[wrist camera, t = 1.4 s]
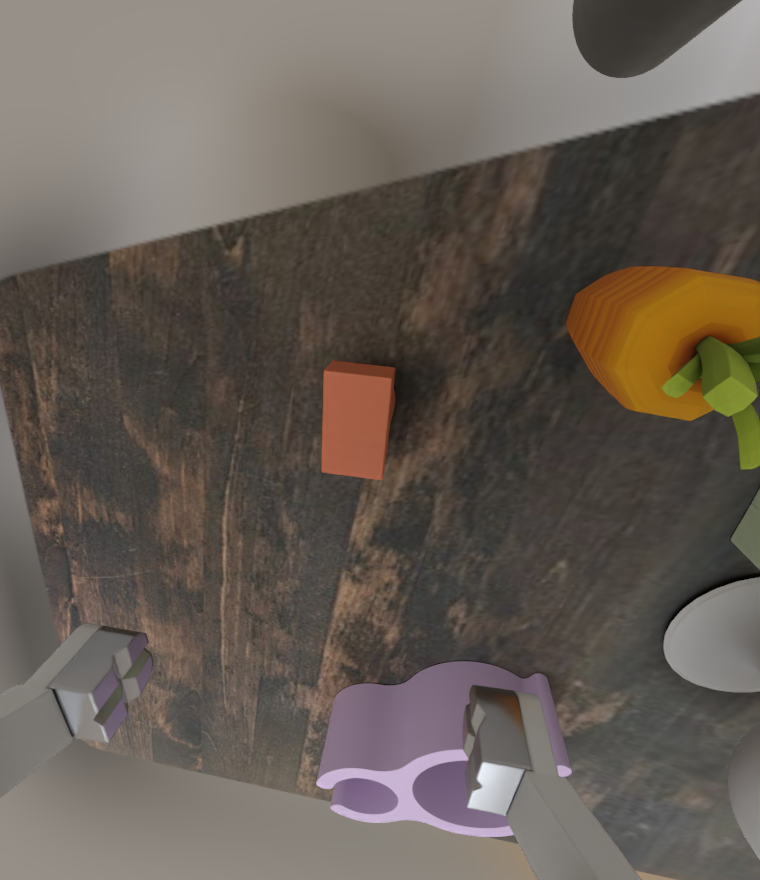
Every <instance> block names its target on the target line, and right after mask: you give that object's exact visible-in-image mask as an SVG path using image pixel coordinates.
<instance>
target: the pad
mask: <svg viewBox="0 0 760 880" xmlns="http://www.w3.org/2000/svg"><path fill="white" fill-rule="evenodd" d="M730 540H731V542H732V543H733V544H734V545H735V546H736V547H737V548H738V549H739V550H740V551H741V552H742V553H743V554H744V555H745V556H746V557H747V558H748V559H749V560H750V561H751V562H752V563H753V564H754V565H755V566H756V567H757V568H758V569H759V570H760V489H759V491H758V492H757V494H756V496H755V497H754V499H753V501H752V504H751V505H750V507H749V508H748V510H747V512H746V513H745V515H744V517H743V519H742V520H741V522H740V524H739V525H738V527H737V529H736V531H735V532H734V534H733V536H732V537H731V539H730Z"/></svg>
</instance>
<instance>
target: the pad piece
mask: <svg viewBox="0 0 760 880" xmlns="http://www.w3.org/2000/svg"><path fill="white" fill-rule="evenodd" d="M394 379H395V368H394V367H386V366H377V365H368V364H359V363H350V362H342V361H332V362H331V363H330V364H329V365H328V366H327V368H326V369H325V370H324V379H323V424H322V470H321V471H322V472H323V473H331V474H339V475H346V476H354V477H361V478H369V479H376V480H382V479H383V474H384V470H385V465H386V457H387V448H388V438H389V428H390V423H391V419H392V415H393V411H394V406H395V399H396V397H395V392H394Z"/></svg>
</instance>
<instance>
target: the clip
mask: <svg viewBox="0 0 760 880" xmlns="http://www.w3.org/2000/svg"><path fill="white" fill-rule="evenodd" d="M472 685H478V686H485V687H492V688H500V689H507V690H514V691H515V692H523V693H530V694H536V695H537V696H538V697H539V699H540V700H541V704H542V708H543V712H544V716H545V720H546V724H547V729H548V733H549V737H550V741H551V745H552V749H553V753H554V757H555V761H556V765H557V770H558V774H559V776H560V777H565V778H567V780H568V775H570V774H571V773H572V771H571V767H570V763H569V760H568V756H567V752H566V748H565V744H564V740H563V737H562V733H561V729H560V725H559V721H558V717H557V714H556V710H555V706H554V702H553V698H552V694H551V691H550V687H549V683H548V679H547V677H546V676H545V675H543V674H541V673H536V674H533V675H532V676H530V677H528V678H525V679H523V678H519V677H518V676H516V675H515V674H513V673H511V672H509V671H507V670H505V669H502V668H500V667H497V666H494V665H490V664H485V663H480V662H470V661H456V662H447V663H442V664H437V665H434V666H431V667H428V668H426V669H424V670H422V671H420V672H419V673H417V674H416V675H414V676H413V677H412V678H411V679H410V680H408V681H407V682H405V683H402V684H399V685H380V684H372V683H363V684H356V685H352V686H349V687H347V688H345V689H343V690H341V691H340V692H339V693H338V694H337V695H336V697H335V699H334V704H333V709H332V713H331V718H330V723H329V727H328V732H327V736H326V741H325V746H324V750H323V755H322V760H321V764H320V769H319V774H318V778H317V783H316V784H317V786H319V787H321V788H325V789H331V788H333V786H334V791H333V796H332V802H331V809H332V810H333V811H335V812H336V813H338V814H340V815H343V816H345V817H348V818H351V819H354V820H358V821H364V822H373V823H386V822H393V821H398V820H414V821H420V822H424V823H427V824H430V825H432V826H435V827H437V828H440V829H443V830H446V831H450V832H454V833H458V834H464V835H471V836H480V837H500V836H510V835H514V834H513V832H512V830H511V828H510V826H509V824H508V822H507V820H506V816H503V815H499V814H494V813H489V812H485V811H480V810H475V809H470V808H467V800H466V786H465V769H466V766H467V762H468V757H467V755H466V754H465V752H464V751H463V717H464V711H465V707H466V705H468V704H469V703H470V700H469V692H470V689H471V686H472ZM568 781H569V780H568Z"/></svg>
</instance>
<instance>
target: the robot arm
mask: <svg viewBox="0 0 760 880" xmlns="http://www.w3.org/2000/svg"><path fill="white" fill-rule="evenodd" d="M147 644H148V638H147V635H146V633H142V632H136V631H130V630H124V629H119V628H113V627H107V626H103V625H96V624H90V623H84V624H83V625H81V626H79V627H78V628H76V629H75V631H74V632H73V633H72V634H71V635H70V636H69V637H68V638H67V639H66V640H65V641H64V642H63V643H62V644H61V646H60V647H59V648H58V649H57V650H56V651H55V652H54V653H53V654H52V655H51V656H50V657H49V659H47V661H46V662H45V663H44V664H43V665H42V666H41V667H40V668H39V669H38V670H37V671H36V673H34V675H33V676H32V677H31V678H30V679H29V680H28V681H27V682H26V683H25V684H17V685H15V686H13V687H11V688H9V689H7V690H6V691H4V692H2V693H0V798H1V797H2V796H4V795H5V794H6V793H7V792H9V791H10V790H11V789H12V788H14V787H15V786H16V785H18V784H19V783H20V782H21V781H23V780H24V779H25V778H26V777H28V776H29V775H30V774H31V773H33V772H34V771H35V770H36V769H38V768H39V767H40V766H42V765H43V764H44V763H45V762H47V761H48V760H49V759H51V758H52V757H53V756H54V755H55V754H57V753H58V752H59V751H61V750H62V749H63V748H64V747H66V746H67V745H68V744H70V743H71V742H72V741H73V738H76V739H83V740H90V741H97V742H104V743H109V742H110V740H111V739H112V737H113V736H114V734H115V732H116V731H117V729H118V728H119V726H120V725H121V723H122V722H123V720H124V719H125V717H126V716H127V714H128V703H129V702H130V701H132V700H133V699H135V698H136V697H138V696H139V695H140V694H141V693H142V691H143V689H144V688H145V686H146V685H147V683H148V680H149V677H150V675H151V672H152V668H153V658H152V654H151V653H150V652H149V651H148V650H147V649H146V648H145V647H146V645H147ZM469 700H470V703H469V704H468V705H466V707H465V711H464V717H463V751H464V752H465V754H466V755H467V757H468V762H467V766H466V769H465V786H466V800H467V808H470V809H475V810H480V811H485V812H489V813H494V814H499V815H503V816H506V820H507V822H508V824H509V826H510V828H511V830H512V832H513V834H514V836H515V838H516V839H517V841H518V843H519V845H520V847H521V849H522V851H523V853H524V855H525V857H526V859H527V861H528V863H529V864H530V866H531V868H532V870H533V872H534V874H535V876H536V878H537V880H642V879H641V878H640V877H639V875H638V874H637V873H636V871H635V870H634V869H633V867H632V866H631V865H630V863H629V862H628V860H627V859H626V858H625V856H624V855H623V854H622V852H621V851H620V850H619V848H618V847H617V846H616V844H615V843H614V842H613V840H612V839H611V838H610V836H609V835H608V834H607V832H606V831H605V829H604V828H603V827H602V825H601V824H600V823H599V821H598V820H597V819H596V817H595V816H594V815H593V813H592V812H591V811H590V809H589V808H588V807H587V805H586V804H585V803H584V801H583V800H582V799H581V797H580V796H579V794H578V793H577V792H576V790H575V789H574V788H573V786H572V785H571V784H570V782H569V781H568V780H567V778H565V777H560V776H559V774H558V770H557V765H556V761H555V757H554V753H553V749H552V745H551V741H550V737H549V733H548V729H547V724H546V720H545V716H544V712H543V708H542V704H541V700H540V699H539V697H538V696H537V695H536V694H530V693H523V692H515V691H514V690H507V689H500V688H492V687H485V686H478V685H472V686H471V689H470V692H469Z"/></svg>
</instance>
